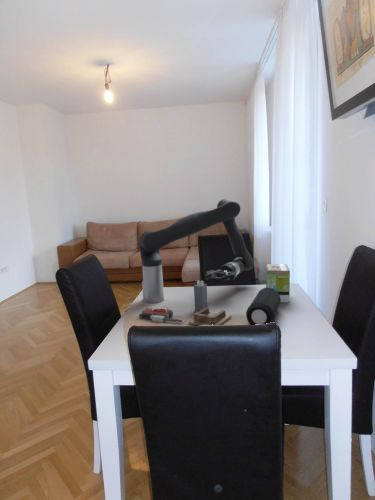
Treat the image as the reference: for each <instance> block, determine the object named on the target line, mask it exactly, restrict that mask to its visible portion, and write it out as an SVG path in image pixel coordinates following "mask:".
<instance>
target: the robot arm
mask: <svg viewBox="0 0 375 500" xmlns="http://www.w3.org/2000/svg"><path fill="white" fill-rule="evenodd" d="M216 205H217V206H216V207H215V208H213V209H210V210H205V211H199V212H194V213H191V214H188V215H186V216H184V217H181V218H180V219H177V220H176V221H174V223H172V224H171V225H169V226H167V227H165V228H162V229H158V230H155V231H153V230H146V231H144V232H142V233H141V235H140V237H139V251H140V258H141V264H142V279H143V280H142V281H141V287H142V288H141V289H142V300H143V301H145V302H146V303H152V304H153V303H161V302H163V301H164V299H165V295H164V294H165V293H164V291H165V290H164V280H163V279H164V278H163V264H162V263H163V261H162V257H161V254H160V253H161V252H160V249H162V248H164V247H165V246H167V245H170V244H171V243H173V242H175V241H178V240H182V239H185V238H187V237H189V236H192V235H195V234H197V233H200V232H201V231H204V230H206V229H209V228H210V227H212V226H215V225H218V224H220V223H222V224H223V226H224V228H225V231H226V233H227V236H228V239H229V242H230V245H231V250H232V252H233V255H234V256H237V257H235V258H234V259H233V260H232V261H230V262H227V263H225V264H222V265H221V266H220V267H219V269H217V270H214V269H211V270H208V271H206V272H205V275H204V280H205V281H208V280H210V279H221V280H220V281H221V282H225V281H229V280H230V281H234V280H235V279H236V278H238V275H239V274H241V273H242V272H244V271H250V270H253V268H254V265H255V263H254V260H253V258H252V255H251V254H250V252H249V251H248V249H247V247H246V243H245V240H244V236H243V234H242V233H241V230H240V229H239V227H238V225H237V224H236V221H235V218H236V217H238V216H239V214H240V212H241V205H240V204H239V202H237V201H236V200H234V199H233V200H232V199H229V198H223V199H220V200H219V201H218V202H217V204H216Z"/></svg>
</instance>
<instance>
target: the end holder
mask: <svg viewBox="0 0 375 500" xmlns="http://www.w3.org/2000/svg"><path fill="white" fill-rule="evenodd" d="M230 318H231V319H232V315H229V314H226V310H225V309H222V310H220V311H218V312H217V313H216V312H212V311H211V312H210V308H209V307H208V308H204V309H202V310H201V311H196V312H195V313H194V314H193V318H192V319H190V320H189V321H187V324H188V325H191V326H196V325H212V324H213V325H221V326H222V325H224V324H225V323H226V321H227V320H228V321H229V320H230ZM228 321H227V322H228ZM224 322H225V323H224ZM223 323H224V324H223Z"/></svg>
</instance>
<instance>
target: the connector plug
mask: <svg viewBox="0 0 375 500" xmlns="http://www.w3.org/2000/svg"><path fill="white" fill-rule="evenodd" d="M207 287H208V286H207V283H204V280H201V281H200V280H196V284H195V285H193V295H194V296H193V298H194V311H196V312H199V311H201V310H202V309H204V308H209V307H208V306H209V305H208V288H207Z"/></svg>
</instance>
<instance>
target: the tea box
mask: <svg viewBox="0 0 375 500" xmlns="http://www.w3.org/2000/svg"><path fill="white" fill-rule="evenodd" d="M290 278H291V270H290V268H289V267H288V264H287V263H275V264H274V263H267V264H266V265H265V288H272V289H274V290H276V291H277V292H278V293H279V295H280V299H281V302H280V303H290V297H291V296H290V295H291V292H290V291H291V288H290V287H291V286H290V285H291V283H290V282H291V281H290V280H291V279H290Z"/></svg>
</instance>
